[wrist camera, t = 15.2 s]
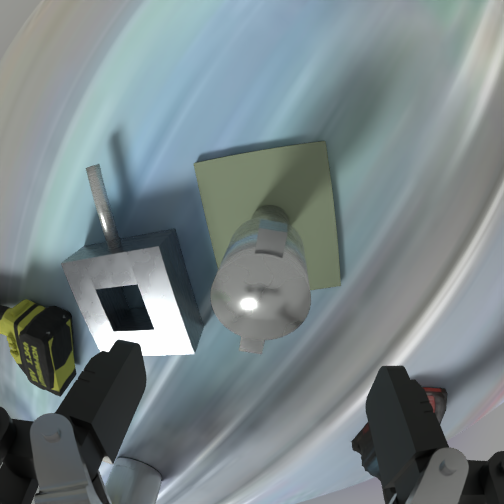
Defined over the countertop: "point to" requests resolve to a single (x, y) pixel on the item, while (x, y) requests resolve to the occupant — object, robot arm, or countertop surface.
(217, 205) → the mat
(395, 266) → the countertop surface
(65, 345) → the cordless drill
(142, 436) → the countertop surface
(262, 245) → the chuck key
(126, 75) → the countertop surface
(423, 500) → the robot arm
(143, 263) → the block
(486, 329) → the countertop surface
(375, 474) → the power drill
